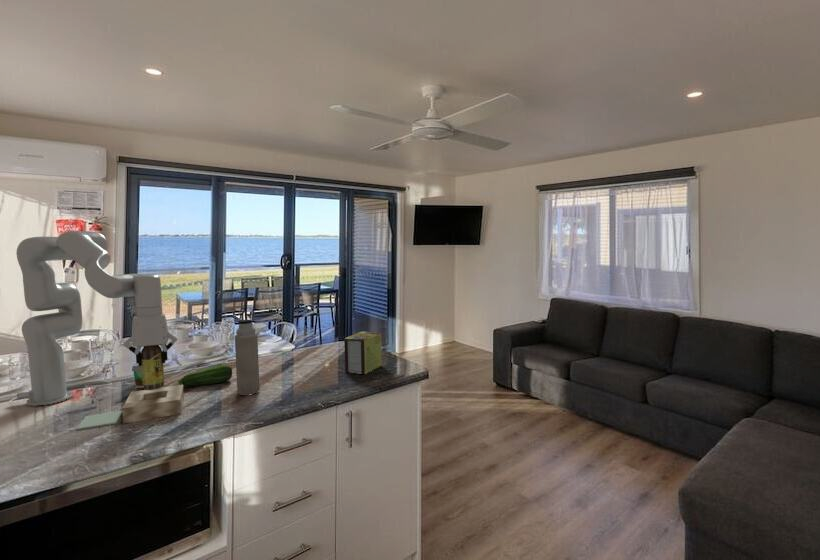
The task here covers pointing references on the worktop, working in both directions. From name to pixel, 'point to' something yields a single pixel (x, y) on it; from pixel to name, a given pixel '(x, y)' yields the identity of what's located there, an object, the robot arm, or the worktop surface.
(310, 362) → the worktop surface
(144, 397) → the socket block
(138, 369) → the food container
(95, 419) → the pad
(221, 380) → the vegetable
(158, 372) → the sauce bottle
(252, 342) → the thermos bottle
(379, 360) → the protein box
